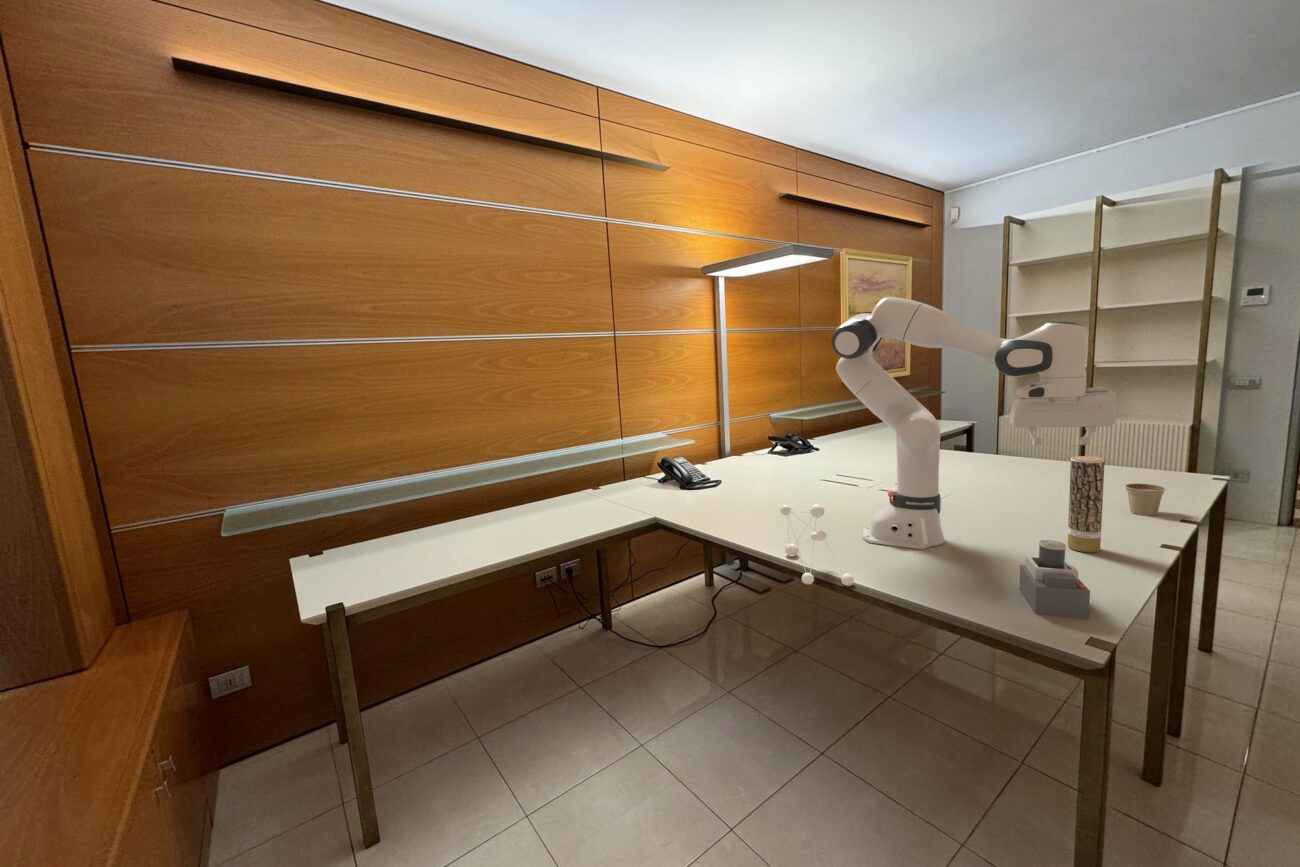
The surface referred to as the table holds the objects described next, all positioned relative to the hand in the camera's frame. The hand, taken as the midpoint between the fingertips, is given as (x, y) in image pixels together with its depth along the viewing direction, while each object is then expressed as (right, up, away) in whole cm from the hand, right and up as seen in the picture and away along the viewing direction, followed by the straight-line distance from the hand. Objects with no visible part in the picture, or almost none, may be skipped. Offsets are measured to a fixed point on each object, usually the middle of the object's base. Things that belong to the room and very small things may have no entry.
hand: (1060, 445), depth 124 cm
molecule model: (-57, -34, +12) cm, 68 cm away
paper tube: (+17, -29, +13) cm, 36 cm away
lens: (-13, -28, -14) cm, 34 cm away
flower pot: (+56, -23, +37) cm, 71 cm away
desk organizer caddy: (-13, -34, -14) cm, 39 cm away
